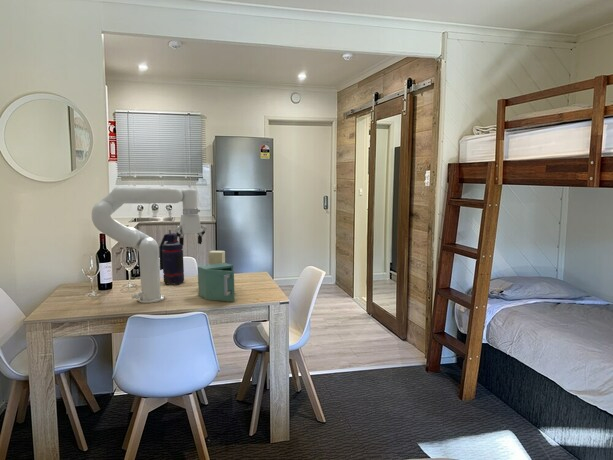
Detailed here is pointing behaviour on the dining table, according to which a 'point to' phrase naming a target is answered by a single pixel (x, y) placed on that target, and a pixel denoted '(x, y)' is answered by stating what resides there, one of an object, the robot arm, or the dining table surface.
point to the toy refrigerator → (216, 257)
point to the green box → (220, 285)
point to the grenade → (171, 259)
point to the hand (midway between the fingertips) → (190, 244)
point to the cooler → (203, 275)
